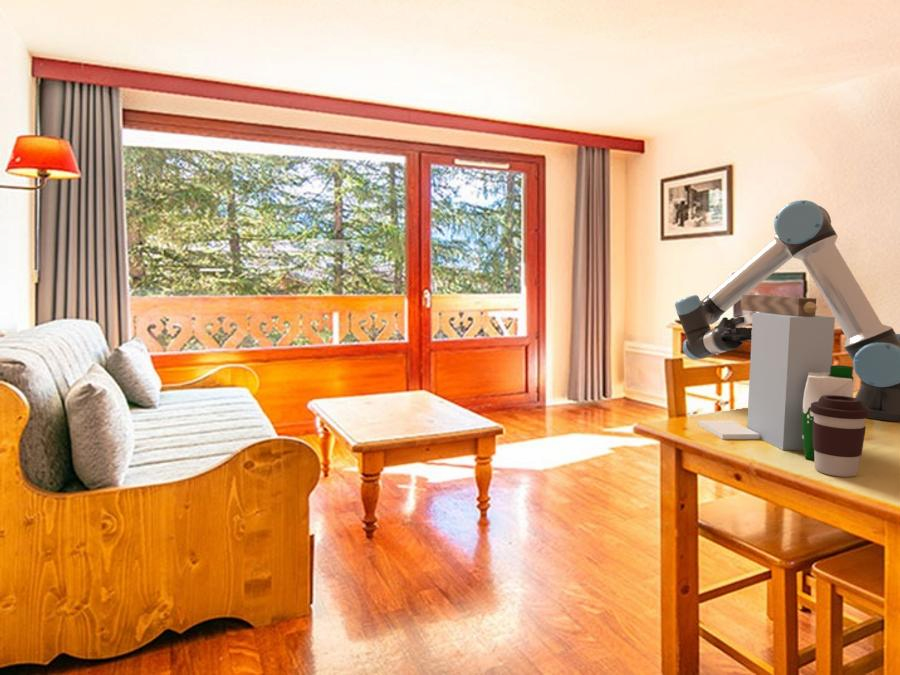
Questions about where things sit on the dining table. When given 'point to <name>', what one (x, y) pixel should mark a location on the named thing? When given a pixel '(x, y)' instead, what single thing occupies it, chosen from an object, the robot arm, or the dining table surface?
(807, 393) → the milk carton
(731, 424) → the plate
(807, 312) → the pepper mill
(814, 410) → the coffee cup
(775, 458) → the dining table surface
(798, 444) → the stand
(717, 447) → the dining table surface
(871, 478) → the dining table surface
